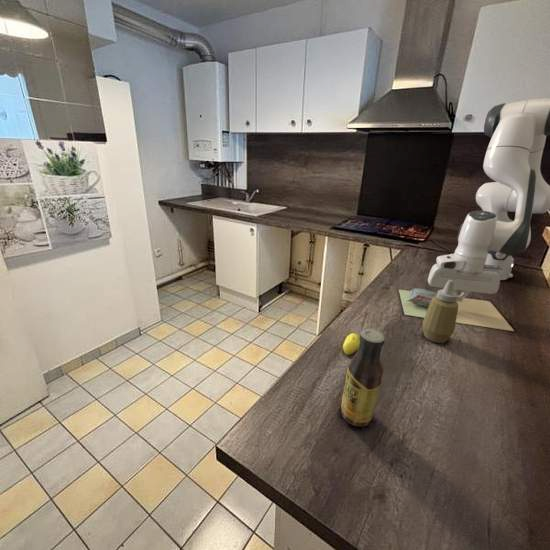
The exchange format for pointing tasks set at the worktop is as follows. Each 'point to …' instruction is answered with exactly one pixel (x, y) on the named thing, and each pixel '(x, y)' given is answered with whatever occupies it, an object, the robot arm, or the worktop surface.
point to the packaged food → (421, 296)
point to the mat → (463, 312)
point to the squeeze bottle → (441, 315)
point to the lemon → (351, 343)
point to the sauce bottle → (363, 380)
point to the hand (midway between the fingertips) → (456, 300)
